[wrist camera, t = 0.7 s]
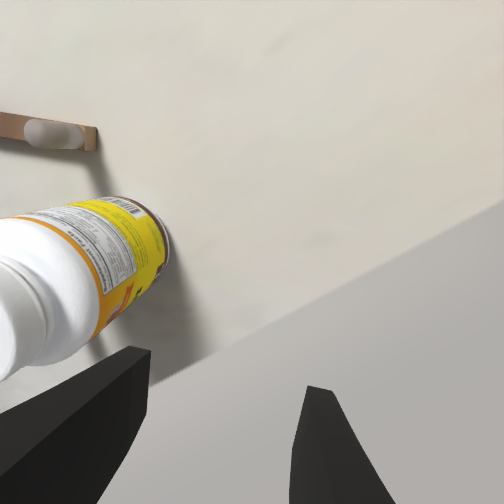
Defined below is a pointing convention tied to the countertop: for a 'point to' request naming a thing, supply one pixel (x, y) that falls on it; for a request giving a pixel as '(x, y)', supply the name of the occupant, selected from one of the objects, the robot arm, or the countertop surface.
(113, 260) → the supplement bottle
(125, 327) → the countertop surface
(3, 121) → the peg frame
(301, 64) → the countertop surface
